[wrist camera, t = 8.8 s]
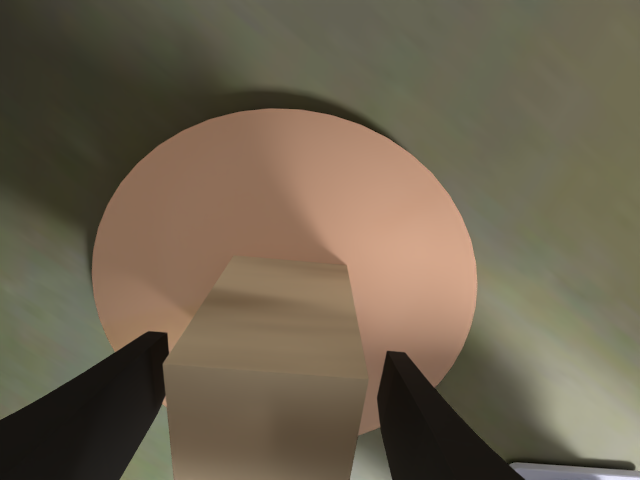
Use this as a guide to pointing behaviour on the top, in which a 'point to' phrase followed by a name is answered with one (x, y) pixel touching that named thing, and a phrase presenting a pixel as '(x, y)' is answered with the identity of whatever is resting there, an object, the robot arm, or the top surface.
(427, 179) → the terracotta plate
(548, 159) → the top surface
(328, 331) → the birch block
